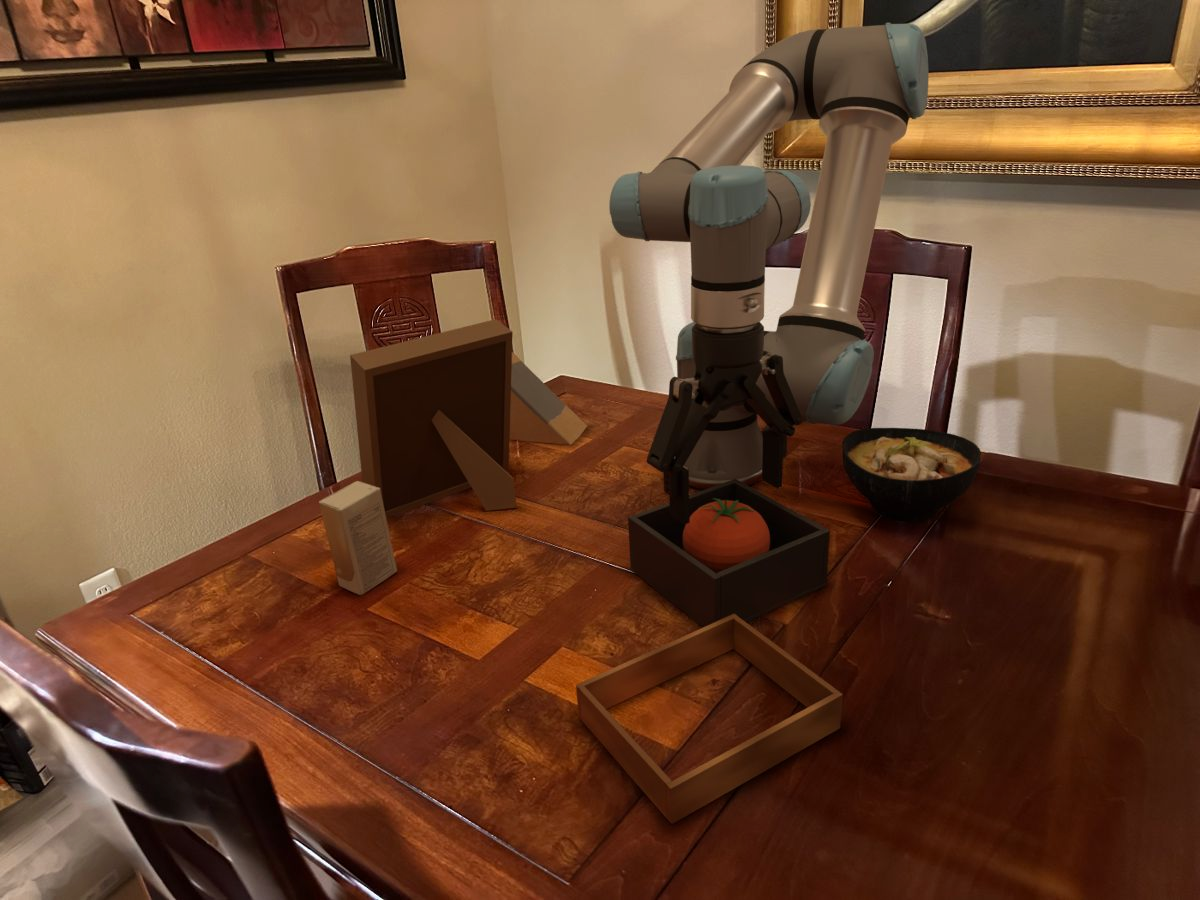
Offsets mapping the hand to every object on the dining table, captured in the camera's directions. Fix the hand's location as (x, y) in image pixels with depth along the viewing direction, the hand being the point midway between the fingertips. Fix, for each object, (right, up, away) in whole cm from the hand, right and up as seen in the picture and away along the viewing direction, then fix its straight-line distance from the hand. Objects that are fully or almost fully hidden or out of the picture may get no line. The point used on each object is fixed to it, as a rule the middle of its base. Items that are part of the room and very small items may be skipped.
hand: (727, 501), depth 97 cm
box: (-5, -20, -18) cm, 27 cm away
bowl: (+26, -2, +17) cm, 32 cm away
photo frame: (-36, -2, +25) cm, 44 cm away
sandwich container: (-25, +9, +48) cm, 55 cm away
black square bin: (0, -10, +4) cm, 10 cm away
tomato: (0, -9, +4) cm, 10 cm away
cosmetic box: (-44, -11, +8) cm, 46 cm away
